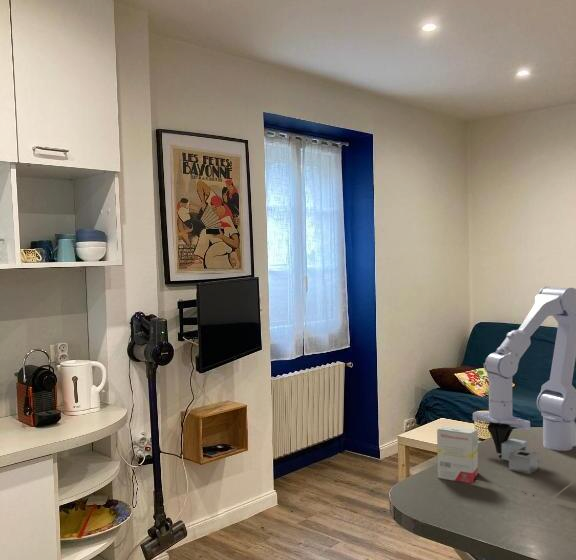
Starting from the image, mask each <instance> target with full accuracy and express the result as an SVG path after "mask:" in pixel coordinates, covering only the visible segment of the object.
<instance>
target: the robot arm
mask: <svg viewBox="0 0 576 560" xmlns="http://www.w3.org/2000/svg"><path fill="white" fill-rule="evenodd" d="M551 316H552V318H554V319H555V321H556V322H557V331H556V336H555V337H556V338H555V342H554V349H553V356H552V362H551V363H552V364H551V370H550V376H549V380H547V381H546V382H545V383H543V384H542V385H541V387H540V388H541V389H540V392H539V394H538V396H537V398H536V408H537V410H539V412H540V413H541V416H542V421H543V422H542V427H543V429H542V432H543V433H542V442H543V443H542V446H543V447H544V448H546V449H548V450H553V451H558V452H559V451H563V452H565V451H571V450H573V448H574V447H576V422H575V419H576V388H575V386H573V378H574V370H575V363H576V288H575V287H553V286H552V287H551V286H544V287H542V288H540V289H539V291H538V293H537V294H536V295H535V296H534V304H533V306H532V307H531V309H530V310H529V312H528V313H527V315H526V317H525V318H524V320H523V321H522V323H521V324H520V326H519V328H518V329H513V330H511V331H509V332H507V333H506V337H505V339H504V340H503V342H502V343H501V344H500V346H499V347H497V348H496V350H495V352H492V353H490V354H489V355H488V356H487V357H486V358H485V362H484V363H483V369H484V371H485V372H486V374H487V379H488V413H487V412H481V411H480V412H479V411H473V413H472V421H474V422H475V421H477V422H485V423H488V425H487V427H486V428H487V430H488V431H489V433H490V435H491V438H492V439H493V443H494V447H495V451H496V453H497V454H500V455H502V443H504V442H506V441H507V440H509V437H510V435H511V434H512V432H513V430H514V429H515V428H517V429H522V430H525V431H529V430H530V429H531V421H530V420H526V419H523V418H519V417H515V416H513V376H514V375H515V374H516V373H517V371H518V369H519V363H520V359H521V358H522V357H523V356H524V353H525V352H526V351H527V350H528V348H529V347H530V345H531V344H532V343H531V342H532V341H531V337H532V335H533V334H534V333H535V332H536V331H537V329H539V327H540V326H541V325H542V324H543V323H544V322H545V320H546V319H548V317H551Z"/></svg>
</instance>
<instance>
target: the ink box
mask: <svg viewBox="0 0 576 560" xmlns="http://www.w3.org/2000/svg"><path fill="white" fill-rule="evenodd" d="M436 437H437V438H436V441H437V442H436V443H437V444H436V445H437V454H436V455H437V478H438V479H442V480H448V481H449V480H450V481H453V482H460V483H464V484H465V483H466V484H472V485H473V484H475V482H476V481H477V480H478V479H477V478H475V477H477V476H478V474H479V451H478V450H479V448H478V447H479V442H478V441H479V440H478V439H479V438H478V437H479V431H478V429H473V428H467V427H459V426H452V425H446V424H445V425H442V426H440V427H438V428H437V429H436Z"/></svg>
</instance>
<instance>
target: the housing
mask: <svg viewBox="0 0 576 560" xmlns="http://www.w3.org/2000/svg"><path fill="white" fill-rule="evenodd" d="M517 449H519V450H524V451H528V441H527V440H521V439H517V438H510V439H509V438H508V440H507V441H506V442H504V443H502V454H501V460H504V461H507V462H509V454H510V453H512V452H514V451H515V450H517Z"/></svg>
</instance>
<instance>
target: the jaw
mask: <svg viewBox="0 0 576 560" xmlns="http://www.w3.org/2000/svg"><path fill="white" fill-rule="evenodd" d="M508 470H509V471H514V472H518V473H522V474H526V475H531V474H533V473H534V472H535V471H537V470H539V453H538V452H532V451H528V450H527V451H524V450H519V449H517V450H515V451H514V452H512V453H510V454H509V461H508Z"/></svg>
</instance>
